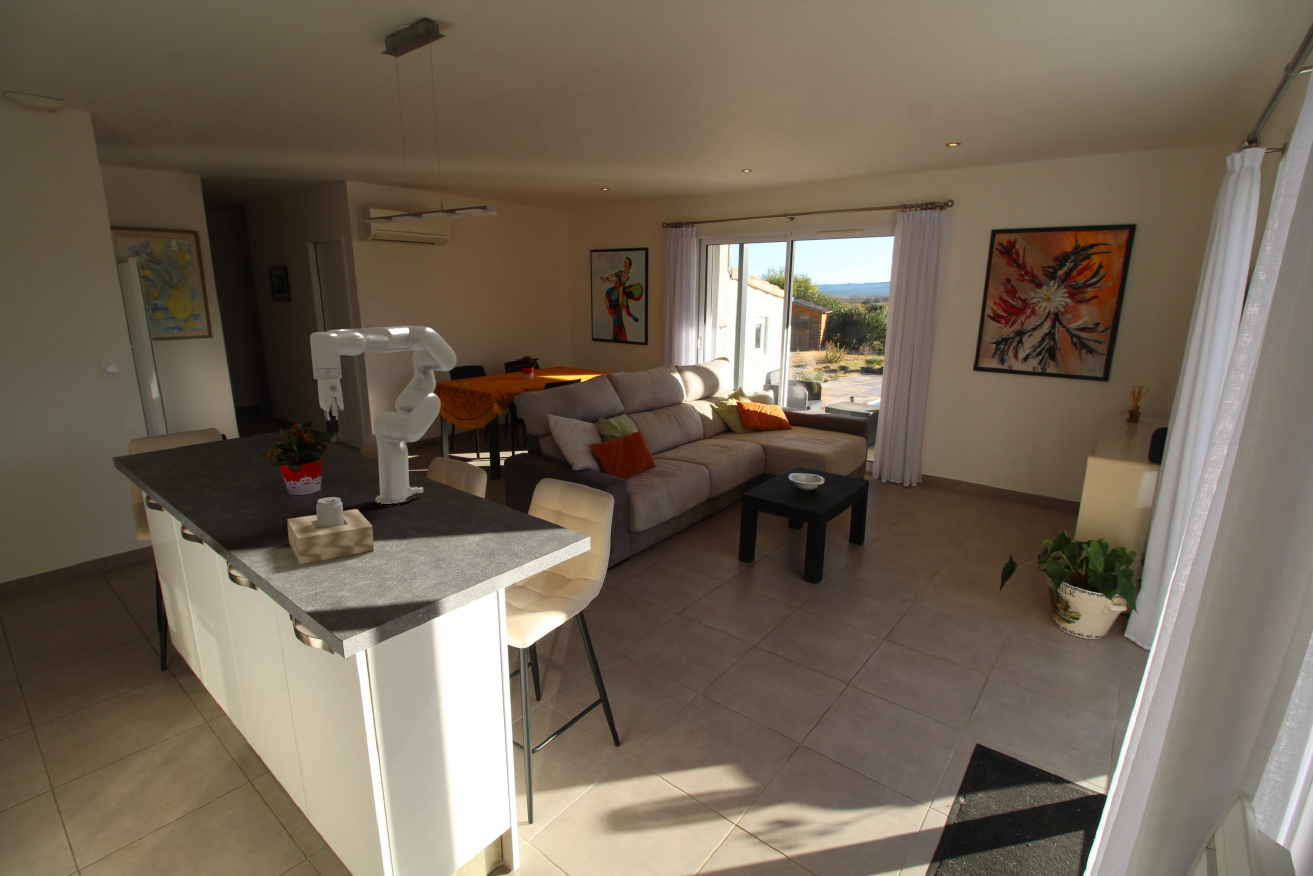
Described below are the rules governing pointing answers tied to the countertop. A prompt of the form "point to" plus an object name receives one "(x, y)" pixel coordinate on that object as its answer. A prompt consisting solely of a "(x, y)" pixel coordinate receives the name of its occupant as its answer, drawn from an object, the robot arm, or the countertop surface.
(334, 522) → the beverage can
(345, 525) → the holder block
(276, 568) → the countertop surface
